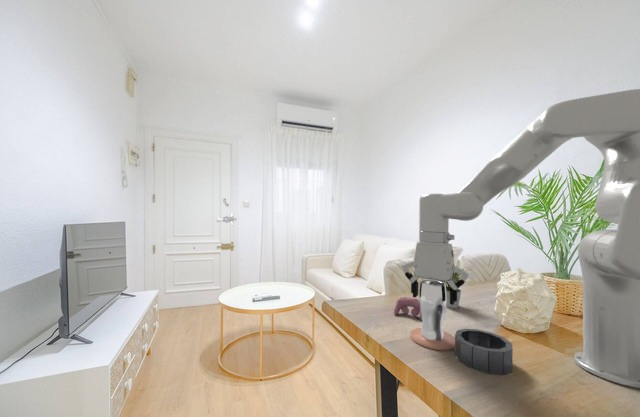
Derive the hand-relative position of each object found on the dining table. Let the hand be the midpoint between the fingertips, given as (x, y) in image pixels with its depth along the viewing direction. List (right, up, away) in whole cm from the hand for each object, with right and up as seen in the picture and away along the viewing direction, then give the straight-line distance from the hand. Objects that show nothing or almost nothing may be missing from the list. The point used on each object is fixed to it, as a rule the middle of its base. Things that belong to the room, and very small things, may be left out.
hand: (433, 299), depth 73 cm
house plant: (+19, -12, +26) cm, 35 cm away
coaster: (0, -11, 0) cm, 11 cm away
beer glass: (0, -11, 0) cm, 11 cm away
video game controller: (-1, -12, +17) cm, 21 cm away
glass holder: (+7, -11, -11) cm, 17 cm away
